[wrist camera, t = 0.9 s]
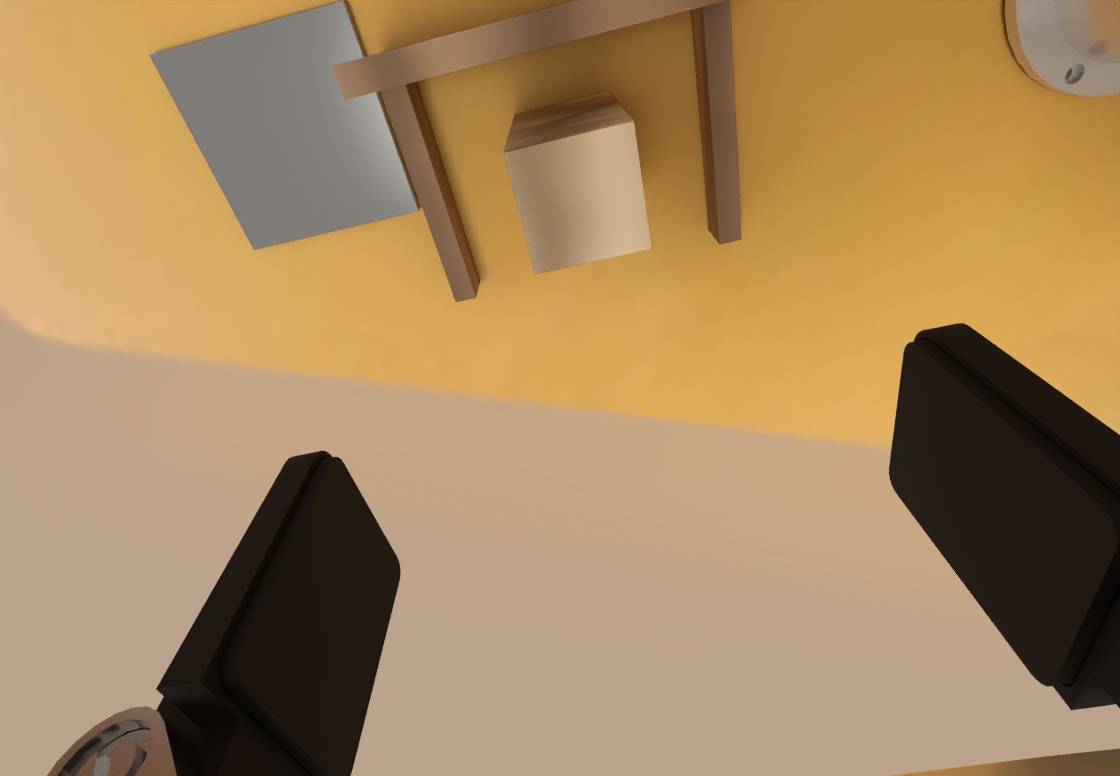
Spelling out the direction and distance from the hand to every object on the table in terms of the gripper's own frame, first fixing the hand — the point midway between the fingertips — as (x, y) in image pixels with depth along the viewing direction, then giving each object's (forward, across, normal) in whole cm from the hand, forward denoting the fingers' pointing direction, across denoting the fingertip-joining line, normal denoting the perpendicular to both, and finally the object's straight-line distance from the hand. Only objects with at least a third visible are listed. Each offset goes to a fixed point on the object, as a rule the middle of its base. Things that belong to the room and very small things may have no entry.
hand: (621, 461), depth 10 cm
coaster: (+26, +14, -4) cm, 29 cm away
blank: (+26, 0, 0) cm, 26 cm away
